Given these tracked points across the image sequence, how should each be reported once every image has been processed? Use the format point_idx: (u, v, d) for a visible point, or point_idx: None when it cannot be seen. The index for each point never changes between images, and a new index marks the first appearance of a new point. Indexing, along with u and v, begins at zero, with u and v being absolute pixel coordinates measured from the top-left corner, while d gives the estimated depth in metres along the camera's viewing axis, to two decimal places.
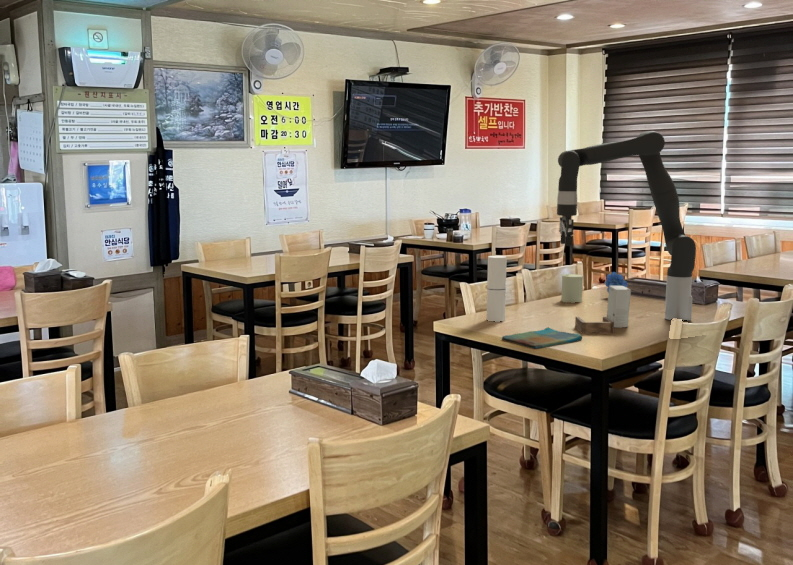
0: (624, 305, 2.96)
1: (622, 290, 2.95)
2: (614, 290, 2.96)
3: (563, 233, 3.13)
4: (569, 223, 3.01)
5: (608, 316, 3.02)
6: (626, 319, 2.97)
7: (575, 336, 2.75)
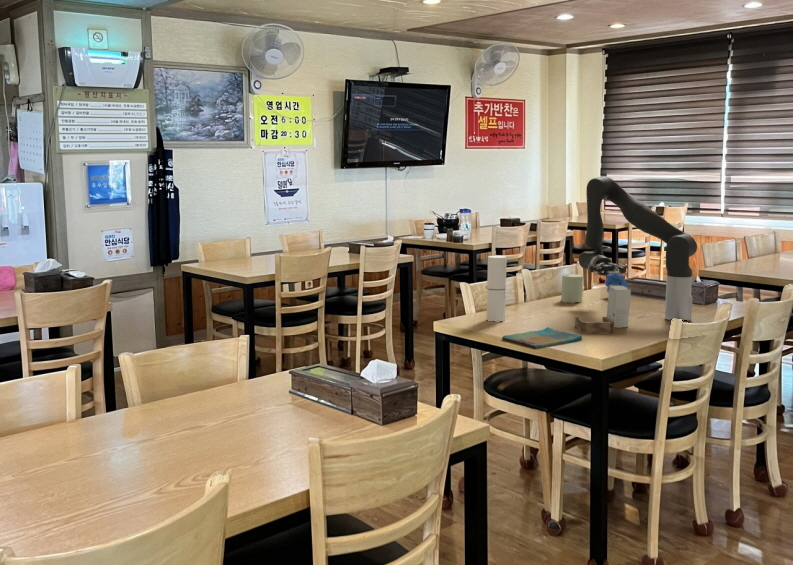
0: (624, 305, 2.96)
1: (622, 290, 2.95)
2: (614, 290, 2.96)
3: (619, 269, 3.13)
4: (588, 268, 3.18)
5: (608, 316, 3.02)
6: (626, 319, 2.97)
7: (575, 336, 2.75)
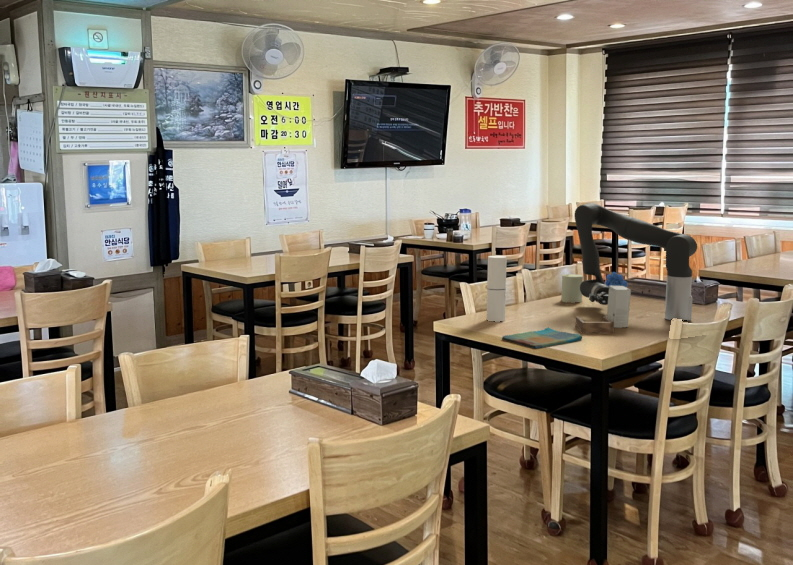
0: (624, 305, 2.96)
1: (622, 290, 2.95)
2: (614, 290, 2.96)
3: None
4: (589, 297, 3.16)
5: (608, 316, 3.02)
6: (626, 319, 2.97)
7: (575, 336, 2.75)
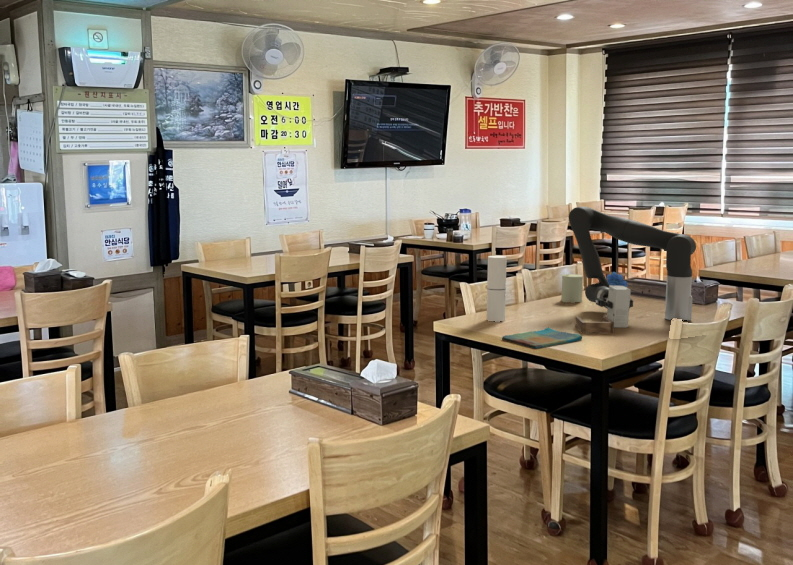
0: (624, 305, 2.96)
1: (622, 290, 2.95)
2: (614, 290, 2.96)
3: None
4: (596, 302, 3.06)
5: (608, 316, 3.02)
6: (626, 319, 2.97)
7: (575, 336, 2.75)
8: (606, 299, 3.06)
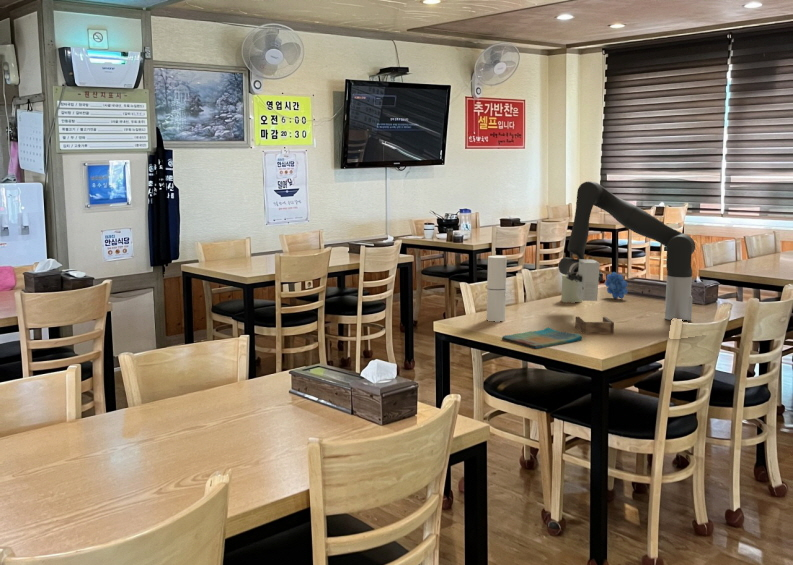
0: (593, 278, 2.97)
1: (591, 263, 2.96)
2: (583, 263, 2.98)
3: None
4: (567, 276, 3.07)
5: (578, 290, 3.04)
6: (595, 292, 2.98)
7: (575, 336, 2.75)
8: (576, 273, 3.07)
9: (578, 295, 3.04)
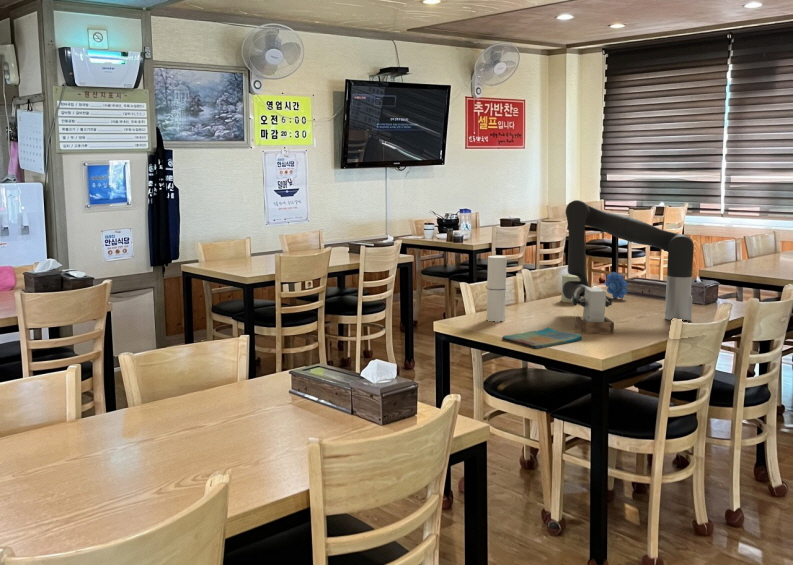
0: (600, 307, 2.88)
1: (597, 292, 2.87)
2: (589, 292, 2.89)
3: None
4: (571, 300, 2.98)
5: (584, 319, 2.95)
6: None
7: (575, 336, 2.75)
8: None
9: None
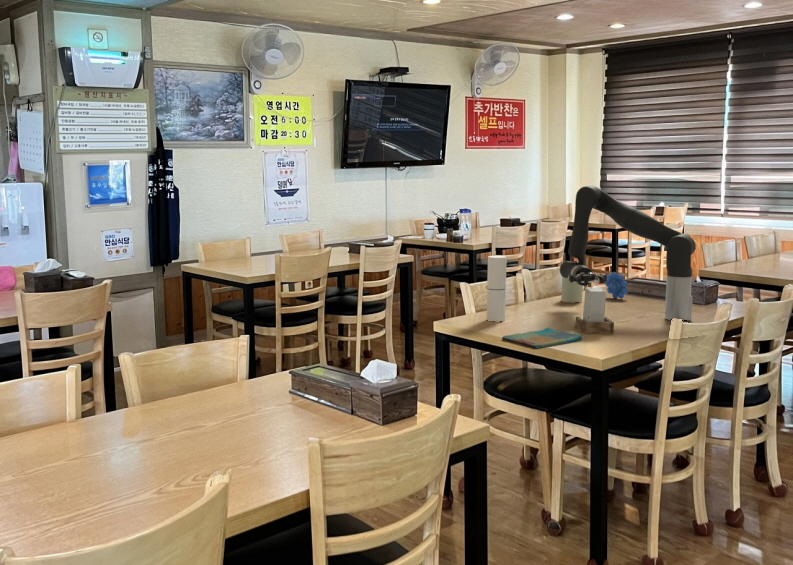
0: (600, 307, 2.88)
1: (597, 292, 2.87)
2: (589, 292, 2.89)
3: (599, 279, 3.07)
4: (568, 278, 3.12)
5: (584, 319, 2.95)
6: None
7: (575, 336, 2.75)
8: None
9: None
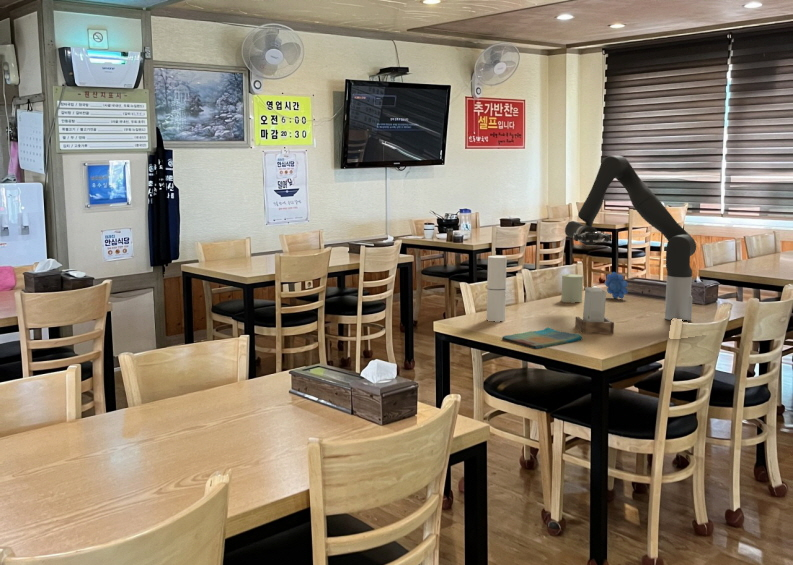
0: (600, 307, 2.88)
1: (597, 292, 2.87)
2: (589, 292, 2.89)
3: None
4: (573, 237, 3.14)
5: (584, 319, 2.95)
6: None
7: (575, 336, 2.75)
8: None
9: None
